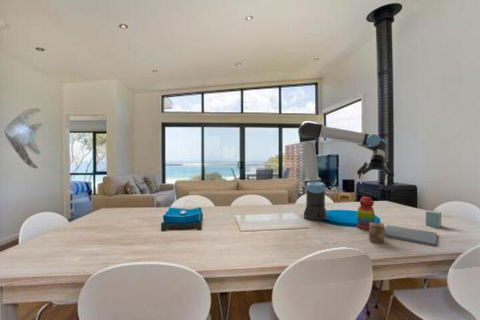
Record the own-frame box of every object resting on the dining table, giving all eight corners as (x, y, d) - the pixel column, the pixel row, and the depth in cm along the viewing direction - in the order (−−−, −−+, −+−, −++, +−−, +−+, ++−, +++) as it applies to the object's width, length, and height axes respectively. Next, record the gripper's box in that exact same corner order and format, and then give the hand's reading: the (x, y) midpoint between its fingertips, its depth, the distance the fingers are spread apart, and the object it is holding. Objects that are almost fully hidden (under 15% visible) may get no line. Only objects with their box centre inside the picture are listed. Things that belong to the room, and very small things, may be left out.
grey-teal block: (425, 225, 143) (425, 211, 143) (428, 223, 147) (428, 210, 146) (438, 227, 138) (438, 213, 138) (441, 225, 142) (441, 212, 142)
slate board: (380, 235, 124) (380, 233, 124) (387, 227, 139) (387, 224, 139) (435, 246, 110) (435, 243, 110) (436, 235, 125) (436, 232, 125)
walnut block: (369, 241, 116) (370, 225, 116) (369, 238, 121) (369, 222, 121) (384, 243, 113) (384, 226, 113) (383, 239, 119) (383, 223, 118)
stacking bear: (380, 230, 133) (380, 198, 132) (362, 230, 133) (362, 198, 133) (370, 225, 144) (370, 195, 143) (353, 224, 144) (353, 195, 143)
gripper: (401, 162, 152) (397, 188, 141) (358, 161, 168) (352, 185, 157) (399, 153, 148) (396, 180, 137) (356, 154, 164) (349, 178, 153)
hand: (372, 183), depth 147 cm, fingers open, 13 cm apart
